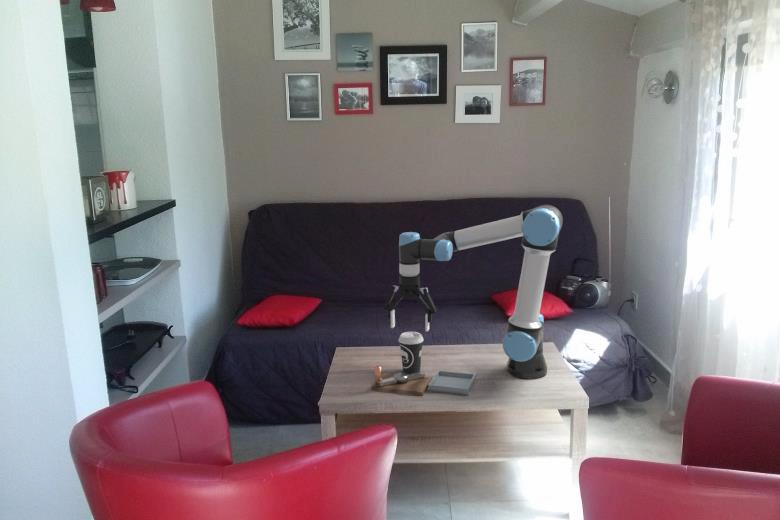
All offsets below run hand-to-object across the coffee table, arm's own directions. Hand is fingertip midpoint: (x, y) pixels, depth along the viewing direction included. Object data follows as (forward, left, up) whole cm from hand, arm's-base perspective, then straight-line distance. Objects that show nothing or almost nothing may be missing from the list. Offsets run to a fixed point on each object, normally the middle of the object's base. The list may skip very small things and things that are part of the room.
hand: (409, 328), depth 239 cm
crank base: (-1, +14, -17) cm, 22 cm away
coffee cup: (0, 0, -18) cm, 18 cm away
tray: (-18, +9, -17) cm, 27 cm away
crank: (0, +13, -16) cm, 21 cm away
